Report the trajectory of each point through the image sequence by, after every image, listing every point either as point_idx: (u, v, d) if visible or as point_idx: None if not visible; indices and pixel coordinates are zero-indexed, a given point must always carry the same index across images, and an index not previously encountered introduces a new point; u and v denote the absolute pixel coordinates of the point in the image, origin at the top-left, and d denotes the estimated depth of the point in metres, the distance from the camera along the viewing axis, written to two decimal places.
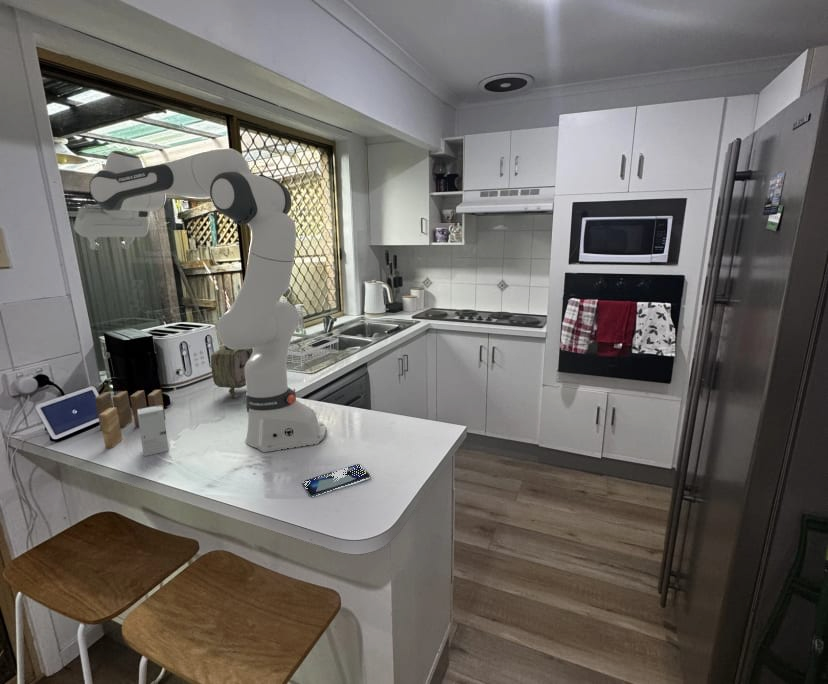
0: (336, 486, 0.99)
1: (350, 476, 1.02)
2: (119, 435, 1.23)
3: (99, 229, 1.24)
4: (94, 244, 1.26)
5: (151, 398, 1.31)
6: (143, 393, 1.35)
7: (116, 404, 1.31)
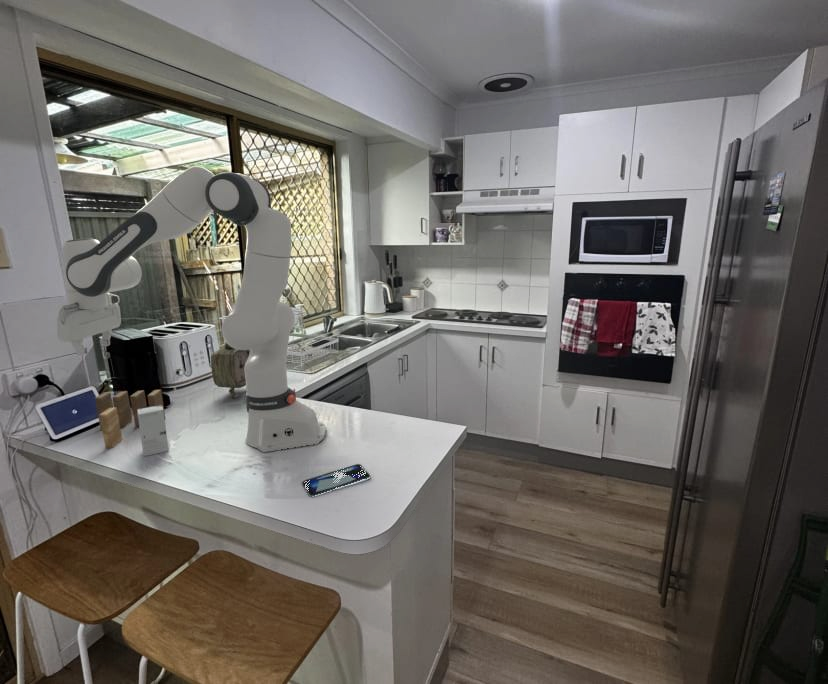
0: (336, 486, 0.99)
1: (350, 476, 1.02)
2: (119, 435, 1.23)
3: (84, 329, 1.12)
4: (83, 348, 1.13)
5: (151, 398, 1.31)
6: (143, 393, 1.35)
7: (116, 404, 1.31)
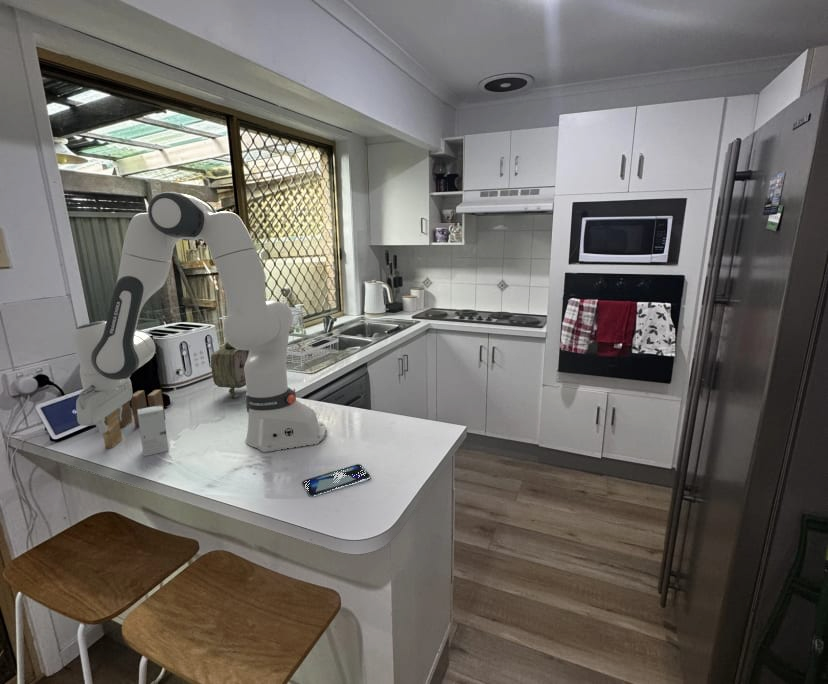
0: (335, 486, 0.99)
1: (350, 476, 1.02)
2: (119, 435, 1.23)
3: (102, 410, 1.14)
4: (105, 426, 1.17)
5: (151, 398, 1.31)
6: (143, 393, 1.35)
7: None
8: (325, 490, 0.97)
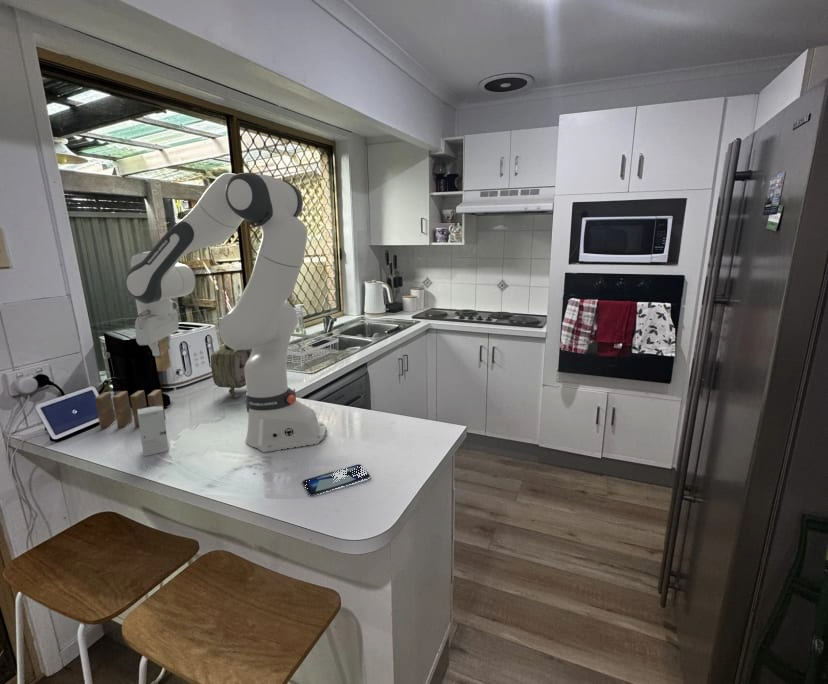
0: (335, 486, 0.99)
1: (350, 477, 1.02)
2: (168, 361, 1.33)
3: (156, 333, 1.24)
4: (158, 349, 1.26)
5: (151, 398, 1.31)
6: (143, 393, 1.35)
7: (116, 404, 1.31)
8: (325, 490, 0.97)
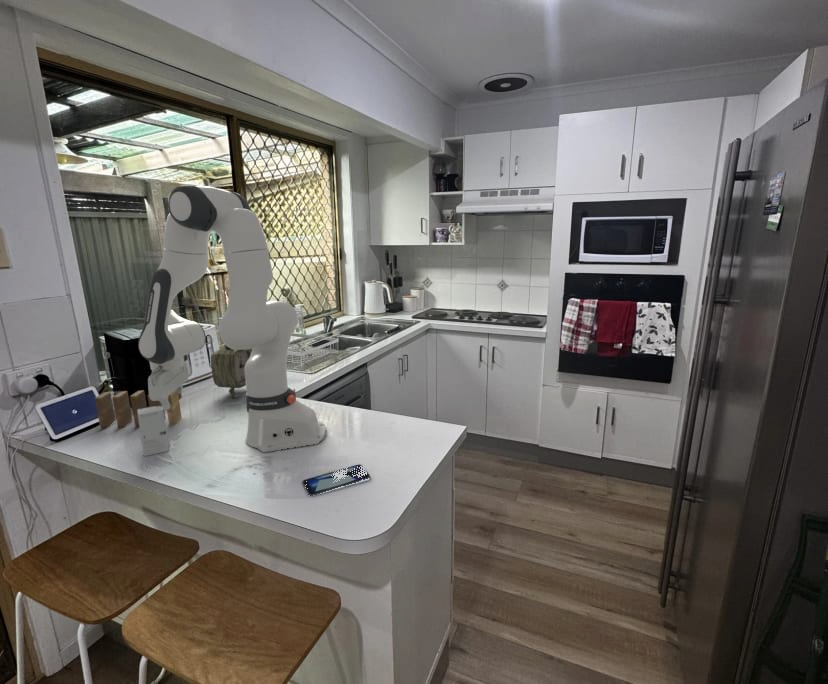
0: (335, 486, 0.99)
1: (350, 477, 1.02)
2: (179, 414, 1.38)
3: (168, 387, 1.29)
4: (168, 403, 1.30)
5: None
6: (143, 393, 1.35)
7: (116, 404, 1.31)
8: (325, 490, 0.97)
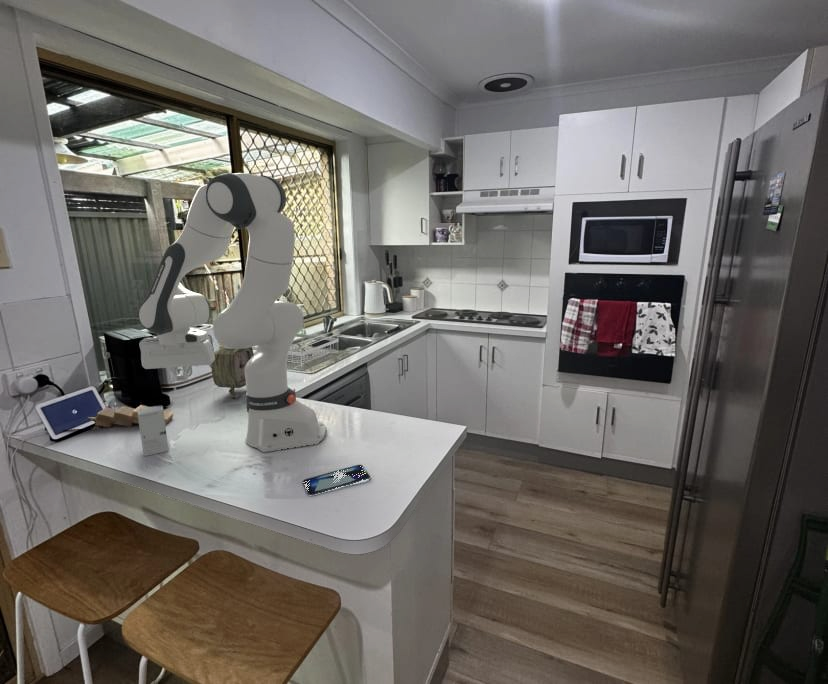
0: (335, 486, 0.99)
1: (350, 477, 1.02)
2: (166, 413, 1.37)
3: (157, 360, 1.28)
4: (175, 375, 1.30)
5: (117, 414, 1.31)
6: (107, 408, 1.35)
7: None
8: (324, 490, 0.97)
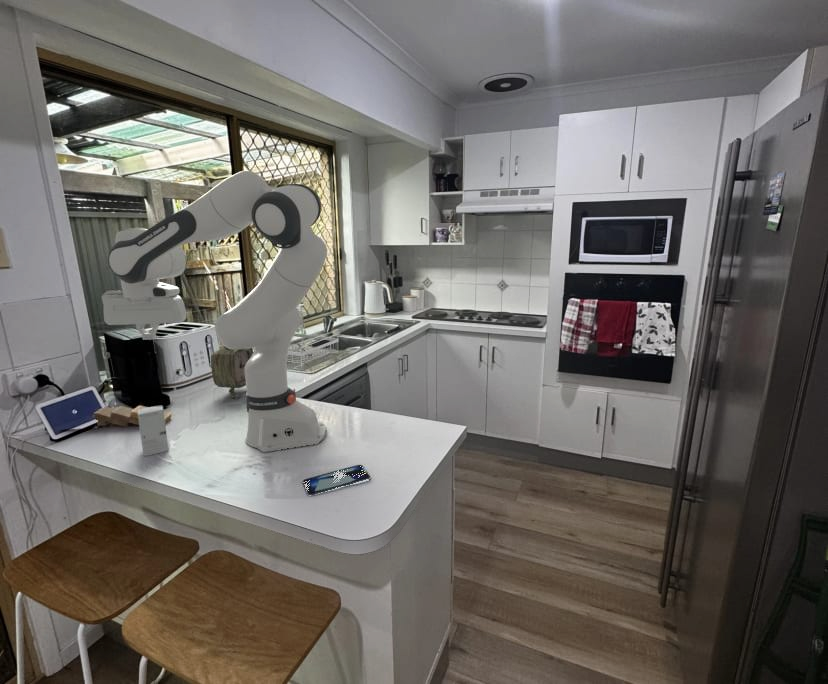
0: (335, 486, 0.99)
1: (350, 477, 1.02)
2: (164, 413, 1.37)
3: (121, 315, 1.16)
4: (141, 333, 1.19)
5: (113, 414, 1.31)
6: (105, 407, 1.35)
7: None
8: (324, 490, 0.97)
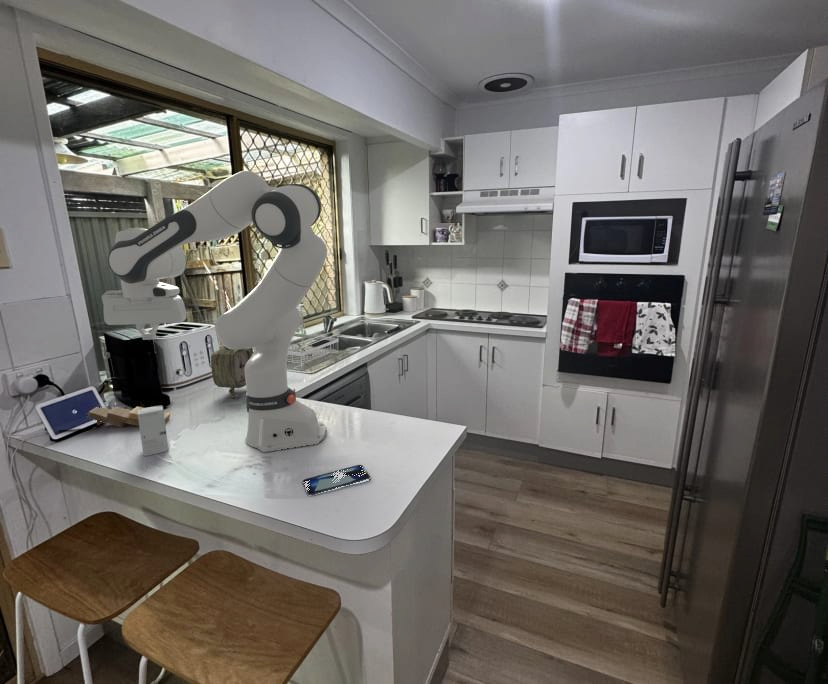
0: (335, 486, 0.99)
1: (350, 477, 1.02)
2: None
3: (121, 315, 1.16)
4: (141, 333, 1.19)
5: (110, 415, 1.31)
6: None
7: None
8: (324, 490, 0.97)
